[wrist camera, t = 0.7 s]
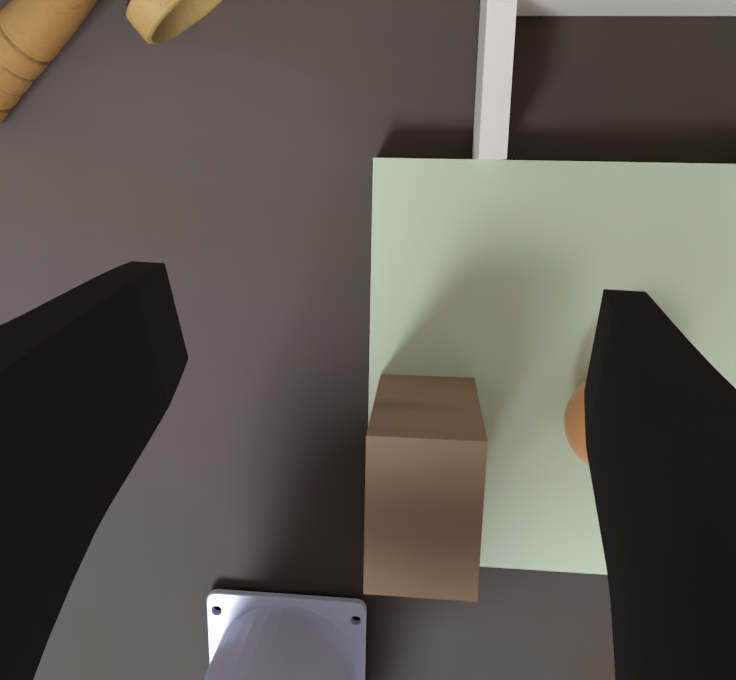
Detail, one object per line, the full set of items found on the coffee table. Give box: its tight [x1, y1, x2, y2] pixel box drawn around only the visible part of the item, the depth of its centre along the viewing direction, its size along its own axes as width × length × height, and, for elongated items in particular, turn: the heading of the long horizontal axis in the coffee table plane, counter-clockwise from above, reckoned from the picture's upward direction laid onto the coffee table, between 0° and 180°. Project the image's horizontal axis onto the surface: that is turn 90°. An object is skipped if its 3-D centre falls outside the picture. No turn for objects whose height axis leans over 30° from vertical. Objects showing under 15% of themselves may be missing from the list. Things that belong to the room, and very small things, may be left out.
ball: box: [564, 381, 589, 465], centre depth 27 cm, size 4×4×4 cm
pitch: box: [368, 0, 736, 575], centre depth 28 cm, size 24×17×4 cm
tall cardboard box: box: [363, 374, 488, 602], centre depth 27 cm, size 6×4×7 cm, turn 179°
